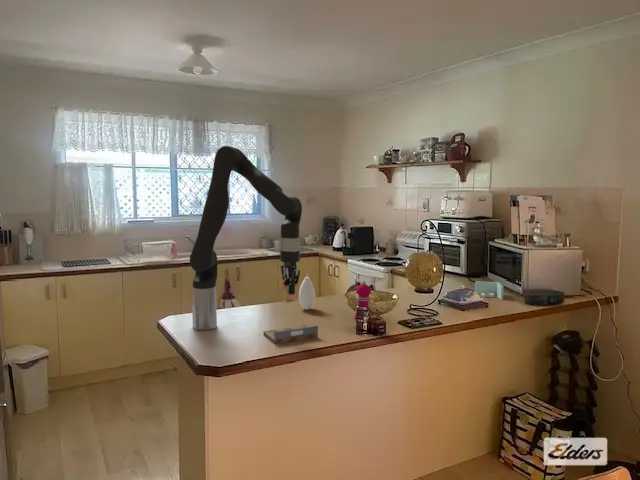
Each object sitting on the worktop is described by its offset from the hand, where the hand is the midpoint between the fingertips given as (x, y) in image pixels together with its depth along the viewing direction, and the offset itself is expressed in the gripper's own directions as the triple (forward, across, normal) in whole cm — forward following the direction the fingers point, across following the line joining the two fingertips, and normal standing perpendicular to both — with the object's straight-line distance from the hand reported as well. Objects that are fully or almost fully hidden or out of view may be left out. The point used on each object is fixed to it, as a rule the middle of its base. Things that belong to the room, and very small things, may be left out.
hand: (290, 293), depth 188 cm
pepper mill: (+17, +4, +31) cm, 36 cm away
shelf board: (+17, 0, 0) cm, 17 cm away
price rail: (+16, +6, 0) cm, 17 cm away
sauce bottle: (+17, -33, +23) cm, 44 cm away
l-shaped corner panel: (+18, -14, +120) cm, 123 cm away
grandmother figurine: (+3, 0, 0) cm, 3 cm away
